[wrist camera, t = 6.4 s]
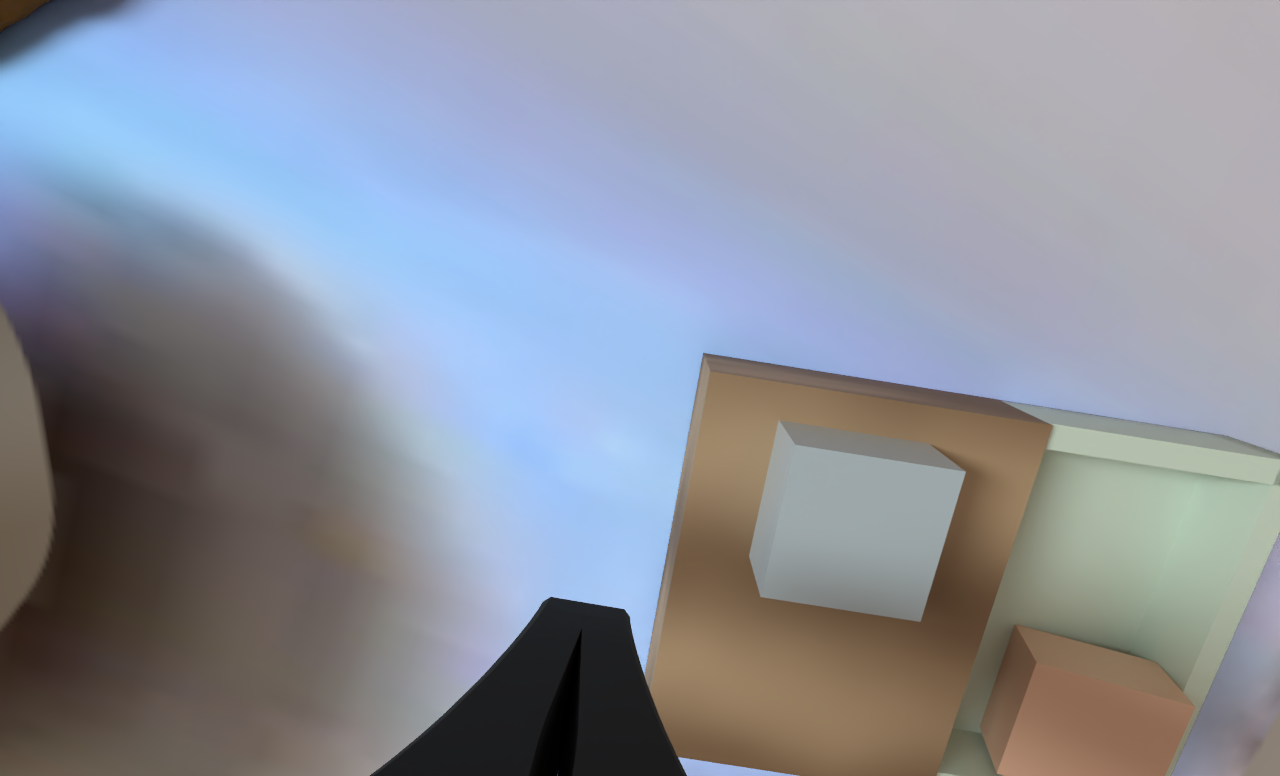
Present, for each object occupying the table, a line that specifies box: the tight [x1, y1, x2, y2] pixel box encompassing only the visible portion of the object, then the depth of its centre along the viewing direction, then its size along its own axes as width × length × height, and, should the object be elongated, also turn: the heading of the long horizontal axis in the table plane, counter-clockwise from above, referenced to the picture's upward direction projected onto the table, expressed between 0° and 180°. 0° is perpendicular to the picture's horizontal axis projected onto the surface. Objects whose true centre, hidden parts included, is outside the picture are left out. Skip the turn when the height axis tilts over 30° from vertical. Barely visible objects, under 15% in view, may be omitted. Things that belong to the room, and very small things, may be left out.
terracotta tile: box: [980, 624, 1195, 776], centre depth 19 cm, size 4×4×2 cm
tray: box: [937, 400, 1280, 776], centre depth 19 cm, size 12×7×2 cm, turn 171°
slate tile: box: [749, 420, 966, 622], centre depth 16 cm, size 4×4×2 cm
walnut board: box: [645, 353, 1053, 776], centre depth 18 cm, size 12×9×3 cm
